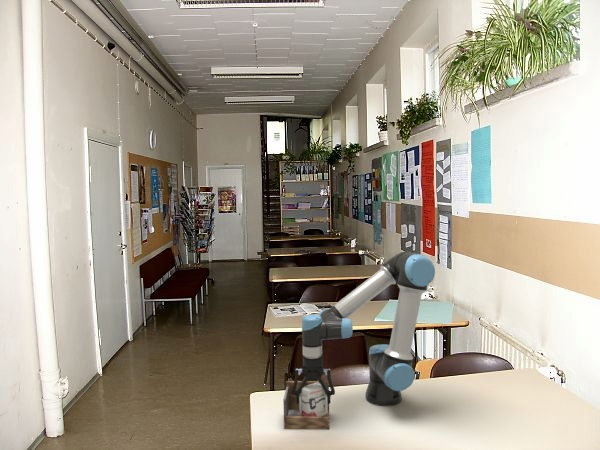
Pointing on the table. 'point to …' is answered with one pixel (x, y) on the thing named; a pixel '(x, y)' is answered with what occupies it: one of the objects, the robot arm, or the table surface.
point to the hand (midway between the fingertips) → (313, 411)
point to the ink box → (313, 400)
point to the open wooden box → (292, 411)
